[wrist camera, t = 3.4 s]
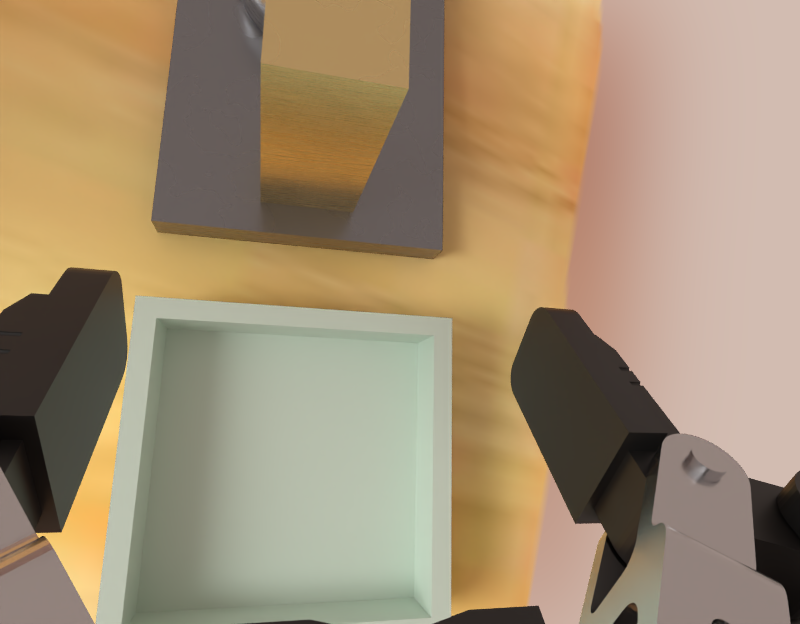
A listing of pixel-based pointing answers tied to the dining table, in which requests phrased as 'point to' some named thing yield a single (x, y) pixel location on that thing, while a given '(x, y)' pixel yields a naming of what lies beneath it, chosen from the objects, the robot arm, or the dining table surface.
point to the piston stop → (329, 96)
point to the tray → (281, 467)
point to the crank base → (241, 143)
